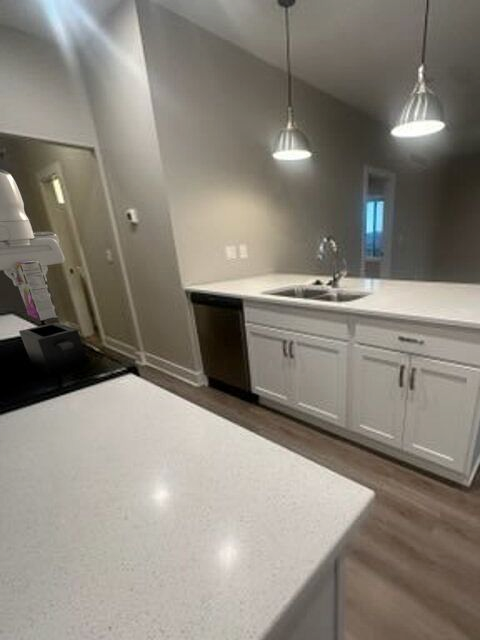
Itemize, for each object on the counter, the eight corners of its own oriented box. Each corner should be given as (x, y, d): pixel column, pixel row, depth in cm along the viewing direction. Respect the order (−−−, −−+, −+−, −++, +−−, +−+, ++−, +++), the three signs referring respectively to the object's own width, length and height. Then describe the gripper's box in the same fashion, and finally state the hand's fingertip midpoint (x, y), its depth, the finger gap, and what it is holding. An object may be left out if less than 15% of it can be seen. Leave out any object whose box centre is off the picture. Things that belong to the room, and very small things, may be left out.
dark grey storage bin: (50, 375, 101) (37, 339, 97) (31, 363, 111) (18, 330, 107) (88, 363, 109) (77, 329, 104) (66, 353, 119) (56, 322, 114)
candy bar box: (27, 316, 106) (7, 261, 99) (46, 312, 109) (28, 259, 103) (39, 321, 99) (18, 262, 93) (58, 317, 102) (40, 260, 96)
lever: (62, 350, 98) (61, 346, 98) (57, 347, 101) (55, 344, 100) (73, 347, 101) (72, 343, 100) (68, 344, 103) (66, 341, 103)
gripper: (51, 231, 104) (66, 277, 109) (-37, 235, 89) (-16, 289, 95) (59, 230, 100) (74, 278, 106) (-32, 235, 86) (-10, 290, 91)
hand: (31, 283), depth 100 cm, fingers closed on candy bar box, 5 cm apart
